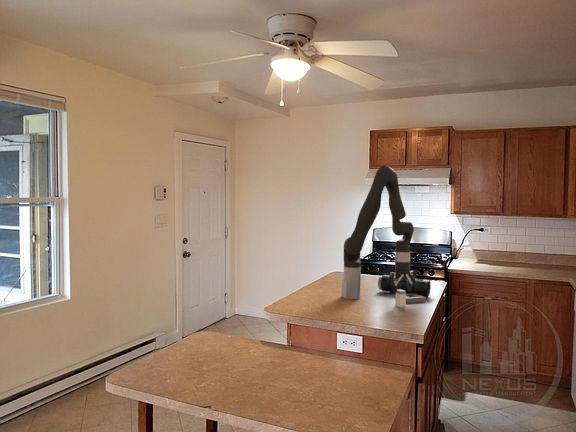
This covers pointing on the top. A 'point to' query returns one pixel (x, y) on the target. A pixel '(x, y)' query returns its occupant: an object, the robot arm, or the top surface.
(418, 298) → the outlet block
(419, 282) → the muzzle brake
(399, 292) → the plug
